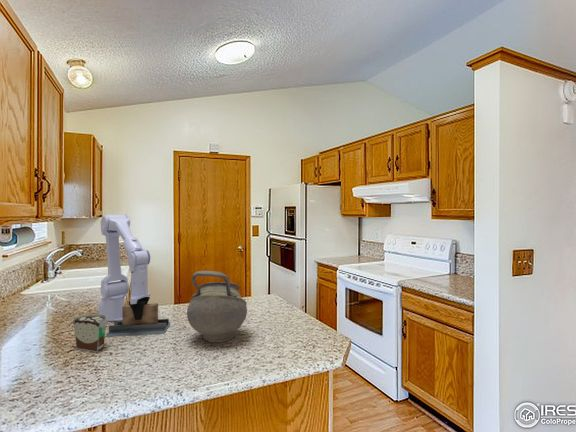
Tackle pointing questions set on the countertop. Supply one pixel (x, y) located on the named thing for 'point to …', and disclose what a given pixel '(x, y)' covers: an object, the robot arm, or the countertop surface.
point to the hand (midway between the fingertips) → (139, 318)
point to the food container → (90, 332)
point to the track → (138, 328)
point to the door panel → (147, 317)
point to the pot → (216, 308)
